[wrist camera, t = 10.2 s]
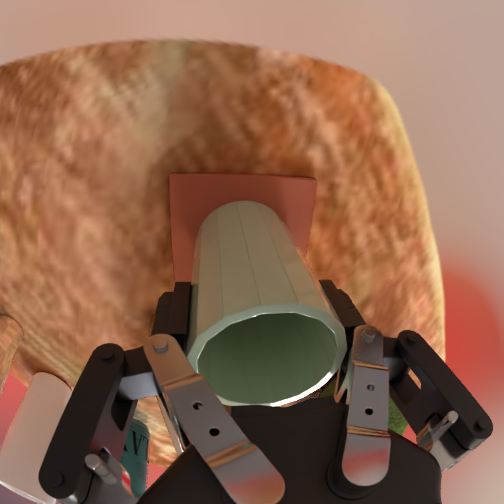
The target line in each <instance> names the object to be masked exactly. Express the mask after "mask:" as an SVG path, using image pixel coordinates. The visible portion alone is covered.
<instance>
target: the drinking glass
mask: <svg viewBox="0 0 504 504" xmlns="http://www.w3.org/2000/svg"><path fill="white" fill-rule="evenodd" d="M71 394H72V392H71V390H70V388H69V387H68V386H67V384H66V383H64V382H63V381H62V380H61V379H59V378H58V377H56V376H54V375H52V374H49V373H46V372H38V373H36V374H35V375H34V376H33V378H32V380H31V382H30V385H29V387H28V389H27V391H26V393H25V395H24V397H23V399H22V401H21V403H20V405H19V407H18V409H17V411H16V413H15V415H14V417H13V419H12V421H11V424H10V426H9V428H8V430H7V433H6V435H5V437H4V439H3V442H2V445H1V447H0V484H2V485H3V486H5V487H6V488H8V489H10V490H12V491H14V492H15V493H17V494H19V495H21V496H23V497H25V498H27V499H29V500H32V501H34V502H36V503H39V504H55V503H56V499H54V498H53V497H51V496H49V495H48V494H47V493H45V492H44V490H43V489H42V488H41V486H40V483H39V479H38V474H39V470H40V467H41V465H42V462H43V459H44V457H45V454H46V452H47V449H48V447H49V444H50V442H51V439H52V437H53V434H54V432H55V430H56V427H57V425H58V423H59V420H60V418H61V416H62V414H63V412H64V409H65V407H66V405H67V403H68V401H69V399H70V396H71Z"/></svg>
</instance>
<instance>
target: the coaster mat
mask: <svg viewBox="0 0 504 504" xmlns="http://www.w3.org/2000/svg"><path fill="white" fill-rule="evenodd" d="M316 188H317V179H315V178H305V177H290V176H273V175H251V174H200V173H192V174H170V175H169V191H170V220H171V239H172V255H173V269H174V281H175V282H191V280H192V269H193V260H194V250H195V241H196V238H197V234H198V231H199V228H200V226H201V225H202V223H203V221H204V220H205V219H206V218H207V216H208V215H209V214H210V213H212V212H213V211H214V210H216V209H217V208H219V207H220V206H223V205H225V204H228V203H231V202H235V201H254V202H258V203H261V204H264V205H266V206H268V207H270V208H271V209H272V210H274V211H275V212H276V213H277V214H278V215H279V216H280V217H281V219H282V220H283V222H284V223H285V224H286V225H287V227H288V229H289V230H290V232H291V234H292V235H293V237H294V239H295V241H296V242H297V244H298V246H299V247H300V249H301V251H302V253H303V254H304V256H305V258H306V253H307V247H308V241H309V235H310V229H311V222H312V216H313V209H314V202H315V195H316Z"/></svg>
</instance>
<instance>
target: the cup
mask: <svg viewBox="0 0 504 504" xmlns="http://www.w3.org/2000/svg"><path fill="white" fill-rule="evenodd" d="M346 351H347V341H346V334H345V329H344V327H343V325H342V323H341V321H340V319H339V317H338V316H337V314H336V312H335V310H334V308H333V306H332V304H331V303H330V301H329V299H328V297H327V295H326V294H325V292H324V290H323V288H322V286H321V285H320V283H319V281H318V279H317V277H316V276H315V274H314V272H313V270H312V268H311V267H310V265H309V263H308V261H307V260H306V258H305V256H304V254H303V253H302V251H301V249H300V247H299V246H298V244H297V242H296V241H295V239H294V237H293V235H292V234H291V232H290V230H289V229H288V227H287V225H286V224H285V223H284V222H283V220H282V219H281V217H280V216H279V215H278V214H277V213H276V212H275V211H274V210H272V209H271V208H270V207H268V206H266V205H264V204H261V203H258V202H254V201H235V202H231V203H228V204H225V205H223V206H220V207H219V208H217V209H216V210H214V211H213V212H212V213H210V214H209V215H208V216H207V218H206V219H205V220H204V221H203V223H202V225H201V226H200V228H199V231H198V234H197V238H196V241H195V250H194V260H193V269H192V280H191V295H190V307H189V320H188V335H187V346H186V357H187V359H188V361H189V362H190V364H191V366H192V367H193V369H194V370H195V372H196V373H201V374H202V375H203V376H204V378H205V379H206V381H207V382H208V384H209V385H210V387H211V388H212V390H213V391H214V393H215V394H216V395H217V397H218V398H219V400H220V401H221V403H222V404H224V405H229V406H240V405H257V404H258V405H266V406H279V405H282V404H285V403H289V402H292V401H295V400H298V399H300V398H303V397H305V396H306V395H308V394H310V393H311V392H313V391H315V390H316V389H318V388H320V387H321V386H323V385H324V384H325V383H326V382H327V381H328V380H329V379H330V378H331V377H332V376H333V375H334V374H335V373H336V372H337V371H338V369H339V368H340V366H341V364H342V361H343V359H344V356H345V354H346Z"/></svg>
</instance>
